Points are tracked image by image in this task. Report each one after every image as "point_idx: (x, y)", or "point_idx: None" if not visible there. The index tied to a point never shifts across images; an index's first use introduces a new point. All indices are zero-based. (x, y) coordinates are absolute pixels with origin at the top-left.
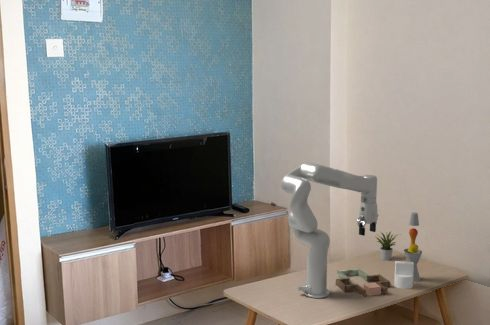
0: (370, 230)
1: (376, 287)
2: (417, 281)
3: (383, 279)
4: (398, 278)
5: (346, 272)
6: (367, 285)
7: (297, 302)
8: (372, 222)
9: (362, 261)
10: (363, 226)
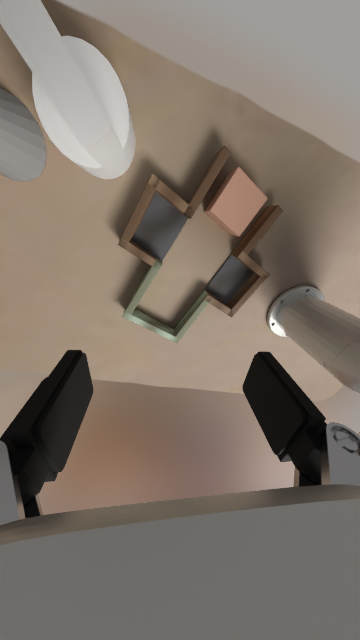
0: (91, 390)
1: (250, 180)
2: (7, 92)
3: (145, 210)
4: (130, 129)
5: (161, 327)
6: (249, 217)
7: (349, 311)
8: (181, 501)
9: (36, 349)
10: (354, 445)
